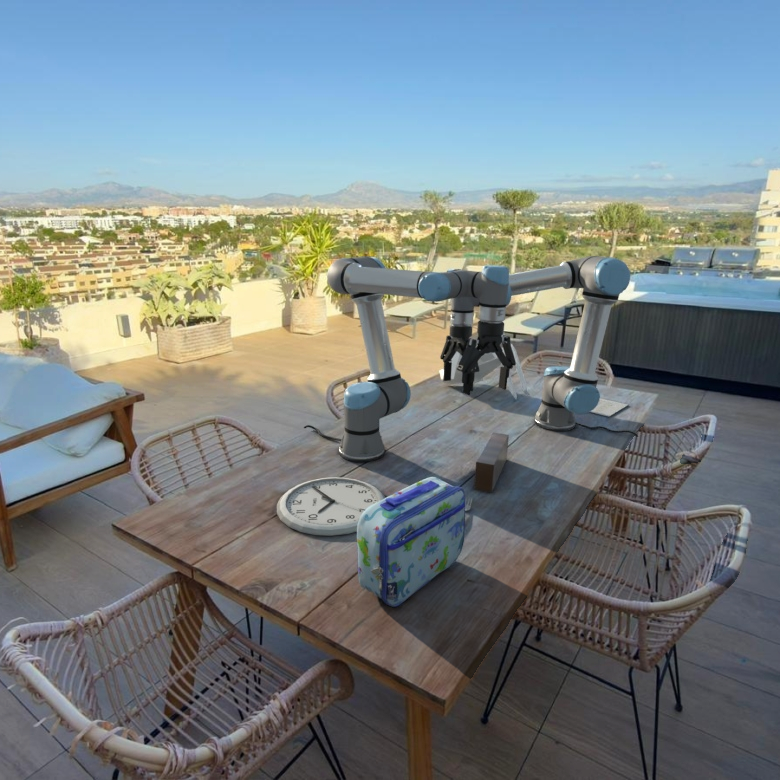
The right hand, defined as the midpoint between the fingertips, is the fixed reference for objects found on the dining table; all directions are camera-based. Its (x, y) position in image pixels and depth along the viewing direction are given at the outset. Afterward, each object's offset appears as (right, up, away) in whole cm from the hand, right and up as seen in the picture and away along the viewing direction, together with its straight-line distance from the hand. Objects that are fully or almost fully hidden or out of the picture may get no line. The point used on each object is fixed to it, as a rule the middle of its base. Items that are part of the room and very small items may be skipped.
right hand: (457, 385), depth 180 cm
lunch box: (-19, -43, -67) cm, 81 cm away
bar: (+8, -28, -17) cm, 34 cm away
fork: (-4, -35, -42) cm, 55 cm away
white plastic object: (+18, -3, +63) cm, 66 cm away
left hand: (+5, -2, -24) cm, 24 cm away
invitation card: (+68, -9, +46) cm, 83 cm away
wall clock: (-39, -33, -37) cm, 63 cm away
